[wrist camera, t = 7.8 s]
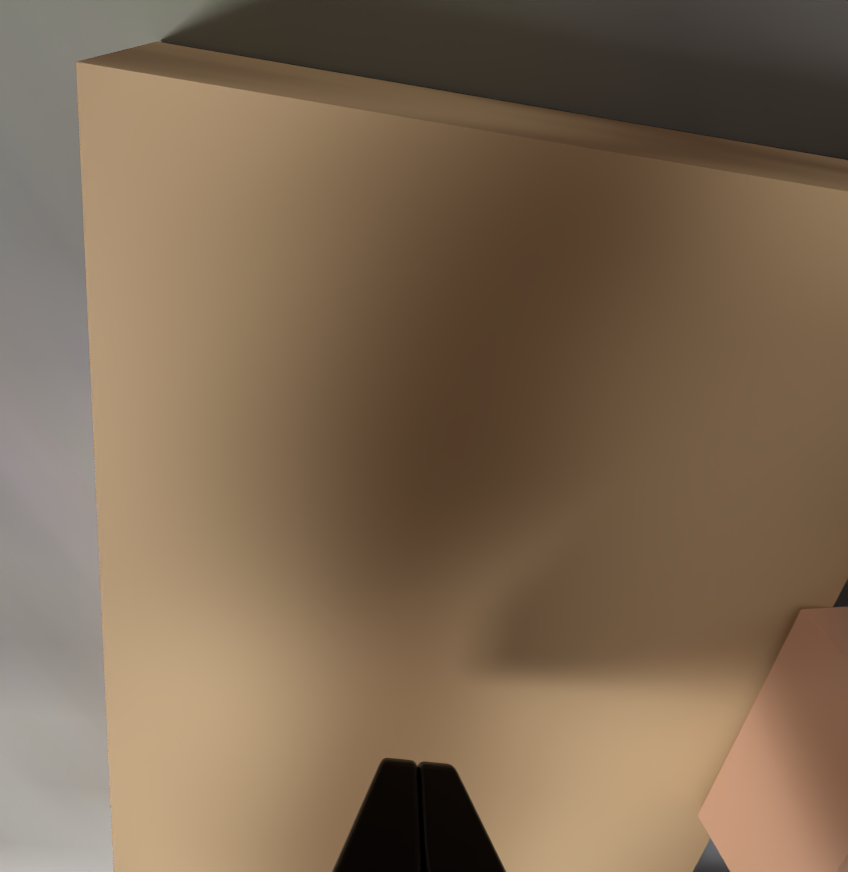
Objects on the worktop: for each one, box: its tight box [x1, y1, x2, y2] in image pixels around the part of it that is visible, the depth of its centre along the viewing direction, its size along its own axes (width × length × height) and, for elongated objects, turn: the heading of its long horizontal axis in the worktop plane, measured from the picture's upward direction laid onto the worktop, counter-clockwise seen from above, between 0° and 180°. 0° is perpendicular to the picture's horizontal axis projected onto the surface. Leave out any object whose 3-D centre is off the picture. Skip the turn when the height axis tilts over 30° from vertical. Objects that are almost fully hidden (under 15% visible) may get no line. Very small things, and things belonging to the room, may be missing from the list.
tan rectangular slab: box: [76, 42, 848, 872], centre depth 12 cm, size 9×14×2 cm, turn 171°
